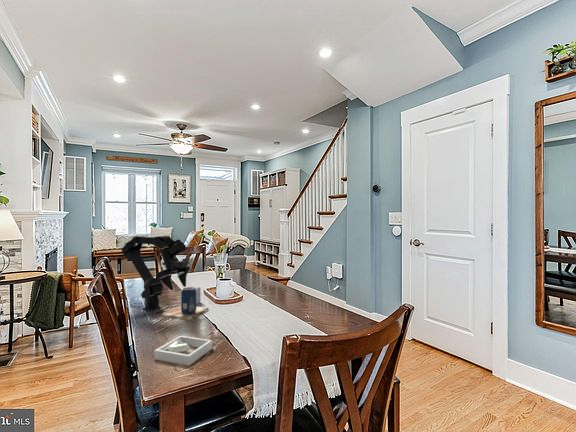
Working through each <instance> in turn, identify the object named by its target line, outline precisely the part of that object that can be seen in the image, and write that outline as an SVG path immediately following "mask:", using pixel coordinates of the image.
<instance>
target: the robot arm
mask: <svg viewBox="0 0 576 432" xmlns="http://www.w3.org/2000/svg"><path fill="white" fill-rule="evenodd" d="M143 245H153V246H154V247H155V248H156V247H157V248H160V249H159V250H158V252H157V254H158V255H161V258H162V260H163V263H162V266H165V269H162V270H160V271H158V272H156V273H155V277H154V276H153V274H152V273H151V271H150V269H149V268H148V266H147V265H146V263H145V261H144V260H143V258H142V256H141V255H142V251H141V250H142V248H143ZM186 248H187V246H186V244H185V243H184V242H182V241H181V239H176V240H174V239H172V238H171V236H170V235H161V236H160V235H159V236H143V235H135V236H133V237H132V238H131V240H129V241H128V242H126V243H125V244H124V246H123V247H122V249H121V253H122V255H123V256H124V257H125V259H127V260H129V261H131V262H132V264H133V266H134V268H135V269H136V272H138V274H139V276H140V278H141V279H142V281H143V291H142V292H141V293H140V296H141V298H142V299H144V307H143V308H142V310H145V311H146V310H147V311H155V310H156V309H159V308H161V305H160V299H159V296H161V295H162V292H163V289H164V286H163V284H164V285H165V286H166V287H167V288H168V289H169V290H170V291H173V290H174V286H173V283H172V276H173V275H175V274H177V277H178V279H179V281H180V283H181V285H182V286H183V287H184V288H186V287H187V276H188V273H190V271H191V268H190V266H188V265H189V264H190V261H189V260H188V259H189V258H183V259H182V260H179V258H176V256H178V255H181V254H182V253H184V252H186V250H187V249H186Z"/></svg>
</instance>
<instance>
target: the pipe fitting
mask: <svg viewBox="0 0 576 432" xmlns="http://www.w3.org/2000/svg"><path fill="white" fill-rule="evenodd" d="M190 349H191V346H189V345H187V344H186V343H185V344H183V342H182V341H181V340H180V339H179V340H176V341H175V342H173V344H171V345H170V346H168V347H167V348H165V349H163V350H164V351H170V352H176V353H182V354H187V353H188V351H189V350H190Z"/></svg>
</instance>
